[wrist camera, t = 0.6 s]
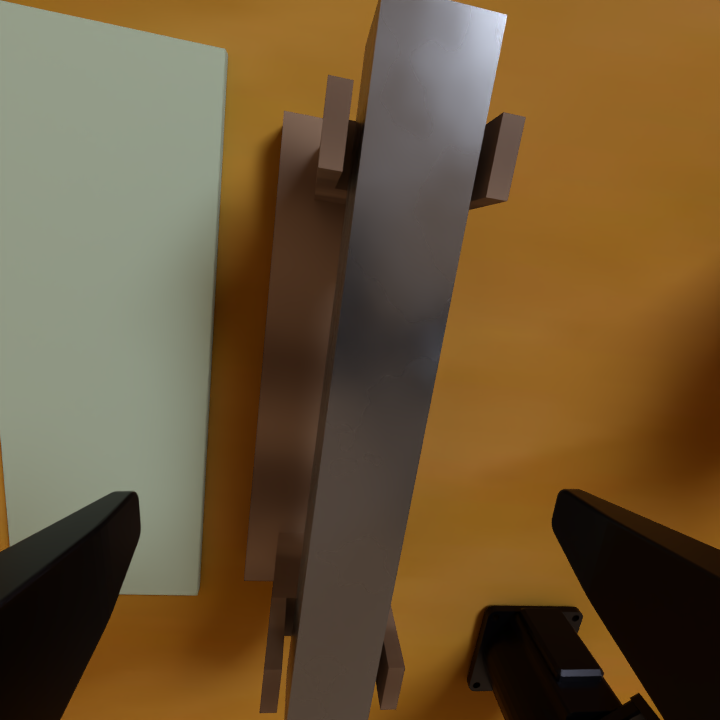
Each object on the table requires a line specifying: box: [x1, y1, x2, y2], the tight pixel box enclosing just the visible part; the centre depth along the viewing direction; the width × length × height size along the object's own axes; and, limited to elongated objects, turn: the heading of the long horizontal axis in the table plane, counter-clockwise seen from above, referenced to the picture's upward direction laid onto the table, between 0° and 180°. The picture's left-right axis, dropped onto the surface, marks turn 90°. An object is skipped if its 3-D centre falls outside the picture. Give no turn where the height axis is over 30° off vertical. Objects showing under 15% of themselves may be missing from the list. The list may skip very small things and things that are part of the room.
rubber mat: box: [0, 1, 228, 595], centre depth 19 cm, size 26×9×1 cm, turn 172°
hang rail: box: [284, 0, 507, 720], centre depth 14 cm, size 24×3×3 cm, turn 172°
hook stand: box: [244, 75, 526, 713], centre depth 16 cm, size 22×8×8 cm, turn 172°
